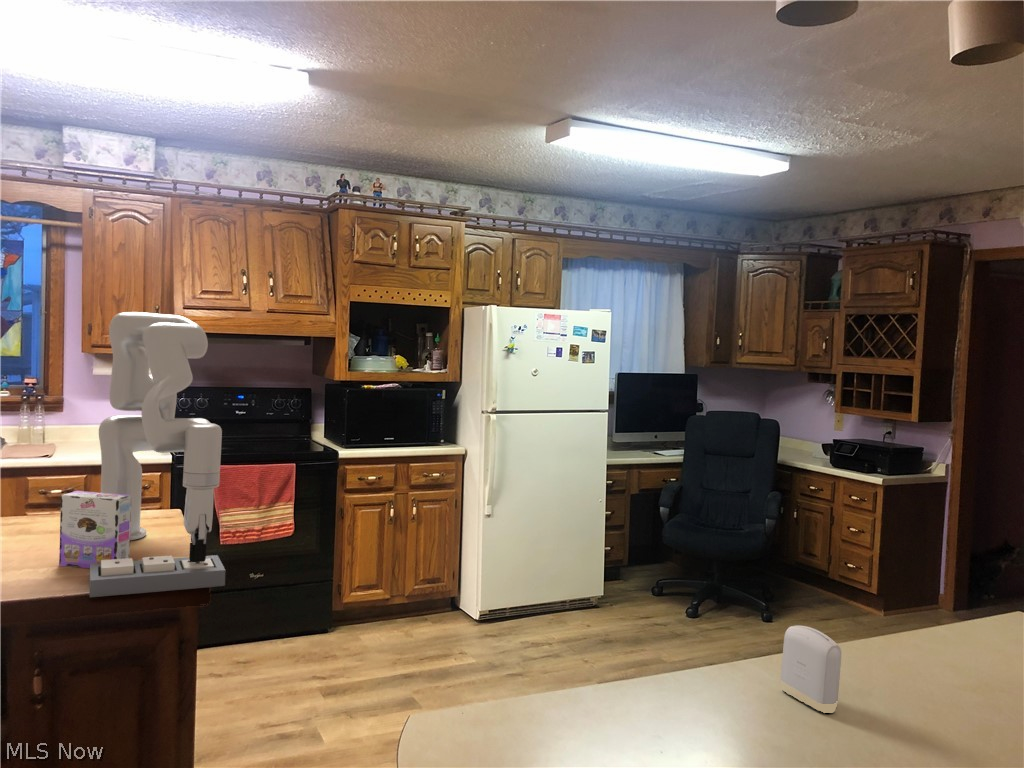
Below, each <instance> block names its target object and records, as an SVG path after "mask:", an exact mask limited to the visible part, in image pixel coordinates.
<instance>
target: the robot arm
mask: <svg viewBox="0 0 1024 768" xmlns="http://www.w3.org/2000/svg"><path fill="white" fill-rule="evenodd" d="M108 329H109V330H108V336H109V337H108V338H109V342H110V346H111V347H110V348H111V352H112V364H111V374H110V384H109V385H110V387H109V403H110V406H111V407H112V408H113V409H114V410H116V411H122V412H140V413H141V414H119V415H112V416H109V417H106V418H104V419H103V420H102V422H100V425H99V428H98V441H99V444H100V445H99V446H100V451H101V452H100V455H101V459H100V460H101V471H100V472H101V474H100V493H109V494H122V495H131V522H130V541H134V540H139V539H142V538H144V537H145V536H146V535H147V530H146V529H145V528H144V527H141V515H142V514H141V507H142V486H143V467H142V465H141V463H140V462H139V459H137V458H136V457H135V456H134V453H135V452H147V451H150V452H151V451H153V452H156V453H179V452H180V453H182V452H183V454H184V455H183V473H182V487H184V488H186V491H185V492H186V493H185V500H184V501H185V504H184V514H183V515H184V516H183V526H184V528H185V532H187V534H189V535H190V542H189V556H188V557H189V560H190V562H204V561H205V560H206V556H207V534H208V533H209V534H210V533H211V532H212V528H213V527H212V526H213V518H214V517H213V515H214V498H215V497H214V495H215V494H214V493H215V490H214V489H216V488H219V486H220V478H221V477H220V476H221V459H222V458H221V457H222V456H221V455H222V442H223V441H222V439H223V436H222V435H223V434H222V433H223V429H222V428H221V427H222V426H220V425H218V424H216V423H211V422H210V421H209V420H208V419H206V418H203V417H196V418H195V417H191V418H185V417H184V418H183V417H181V418H177V417H176V416H175V415H176V409H177V408H176V407H177V401H178V400H177V399H178V398H177V397H178V395H177V394H178V393H179V392H182V391H184V390H185V389H186V388H188V387H189V386H190V385H191V384H192V382H193V379H194V377H193V373H192V370H191V369H192V368H191V366H190V363H189V360H188V359H194V360H195V359H201V358H203V357H204V356H205V354H206V353H207V351H208V345H209V343H208V336H207V334H206V332H205V330H204V329H203V327H201V326H200V325H199V324H198V323H196V322H194V321H192V320H190V319H189V318H186V317H184V316H181V315H177V314H166V313H165V314H164V313H154V312H143V311H141V312H138V311H125V312H119V313H117V314H115V315H114V316H113V317H112V319H111V320H110V322H109V327H108ZM149 372H150V373H151V374H150V373H149Z"/></svg>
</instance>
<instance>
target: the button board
mask: <svg viewBox="0 0 1024 768" xmlns="http://www.w3.org/2000/svg"><path fill="white" fill-rule="evenodd" d="M208 558H210V559H211V561H212V563H213V565H214V568H201V569H188V570H182V568H181V563H182V560H189V556H185V557H173V559H174V562H175V571H161V572H148V573H143V569H142V559H141V560H133V565H134V570H133V574H121V575H108V576H101V563H94V564H90V568H89V580H88V581H89V598H98V597H110V596H121V595H123V596H124V595H131V594H132V595H134V594H145V593H157V592H158V593H159V592H167V591H168V592H170V591H179V590H180V591H182V590H192V589H203V588H214V587H215V588H217V587H225V586H226V569H225V566H224V564H223V563H222V561H221V559H220V557H219V555H218V554H216V555H215V554H214V555H213V554H212V555H206V559H208Z"/></svg>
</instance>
